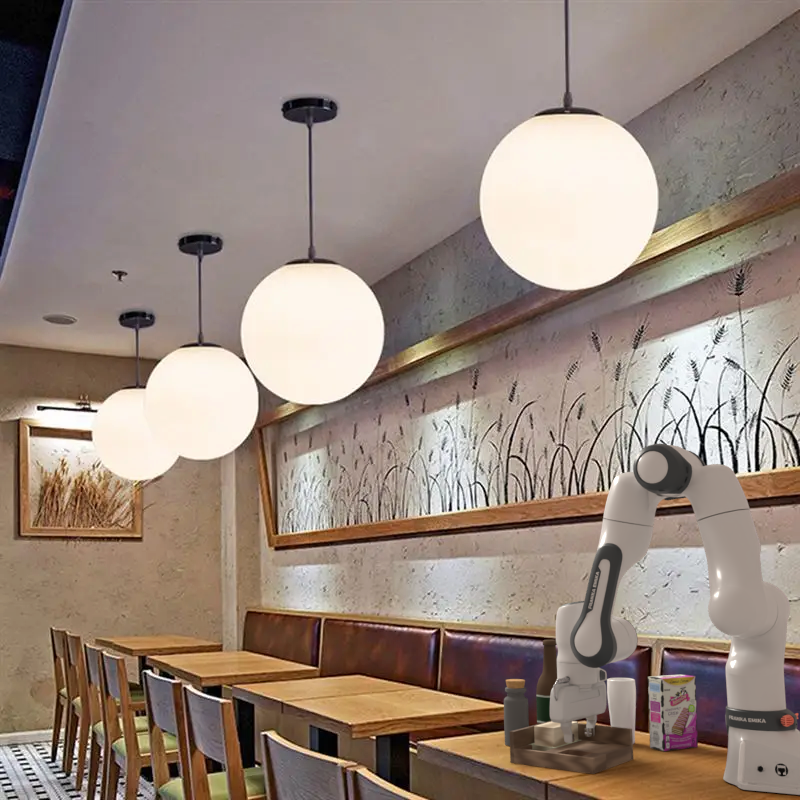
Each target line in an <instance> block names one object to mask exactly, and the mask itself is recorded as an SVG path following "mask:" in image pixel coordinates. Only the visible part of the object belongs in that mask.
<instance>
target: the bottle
mask: <svg viewBox="0 0 800 800" xmlns="http://www.w3.org/2000/svg"><path fill="white" fill-rule="evenodd" d="M505 684H506V687H505V688H504V692H505V693H507V694H506V695H507V696H505V697H504V698H503V724H504V725H503V726H504V728H503V729H504V732H503V733H504V745H505V746H507V745H508V746H507V747H510V731H513V730H517V729H521V728H525V727H529V726H530V723H529V720H530V719H529V699H528V697H526V696H525V693H526V692H527V687H525V684H526V680H525V679H520V678H510V679H505Z"/></svg>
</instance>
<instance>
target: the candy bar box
mask: <svg viewBox="0 0 800 800" xmlns="http://www.w3.org/2000/svg"><path fill="white" fill-rule="evenodd" d="M647 683H648V684H647V686H648V688H647V689H648V690H647V691H648V693H647V694H648V721H649V722H648V723H649V725H648V726H649V747H650V749H653V750H655V751H656V750H657V751H660V752H667V751H669V752H670V751H678V750H685V749H691V748H693V749H694V748H698V746H699V745H698V744H699V743H698V742H699V740H698V715H697V712H698V711H697V690H696V689H697V688H696V687H697V686H696V675H689V674H668V675H667V674H666V675H652V676H647Z"/></svg>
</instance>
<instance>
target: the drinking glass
mask: <svg viewBox="0 0 800 800" xmlns="http://www.w3.org/2000/svg"><path fill="white" fill-rule="evenodd" d="M636 688H637V687H636V679H634V678H631V677H610V678H607V679H606V697H607V706H608V711H609V719H610V720H609V721H610V726H611V727H621V728H630V729H632V739H633V745H634V744H635V743H636V735H635V734H636V732H635V731H636V708H637V705H636V703H637V689H636Z"/></svg>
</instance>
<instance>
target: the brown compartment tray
mask: <svg viewBox="0 0 800 800" xmlns="http://www.w3.org/2000/svg"><path fill="white" fill-rule="evenodd" d="M548 722H552V721H548ZM548 722H544V723H548ZM544 723H540V724H544ZM540 724H537V723H536V724H532V725H529V727H525V728H521V729H517V730H513V731H510V746H509V752H510V753H509V758H510V761H509V762H510V763H512V764H519V765H527V766H532V767H533V766H535V767H542V768H547V769H554V770H562V771H568V772H576V773H577V772H578V773H582V774H584V773H585V774H591V775H595V774H597V773H600V772H603V771H605V770H609V769H611V768H613V767H616V766H619V765H622V764H624V763H627V762H630V761H633V760H634V744H633V739H632V729H630V728H621V727H611V725H600V724H596V725H595V728H594V730H595V735H594V736H592V737H587V736H585V731H584V728H586V723H584V722H581V723H580V722H578V740H577V741H574V742H571V743H567V744H564V745H560V746H557V747H548V746H540V745H535V738H534V726H537V725H540Z"/></svg>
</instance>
